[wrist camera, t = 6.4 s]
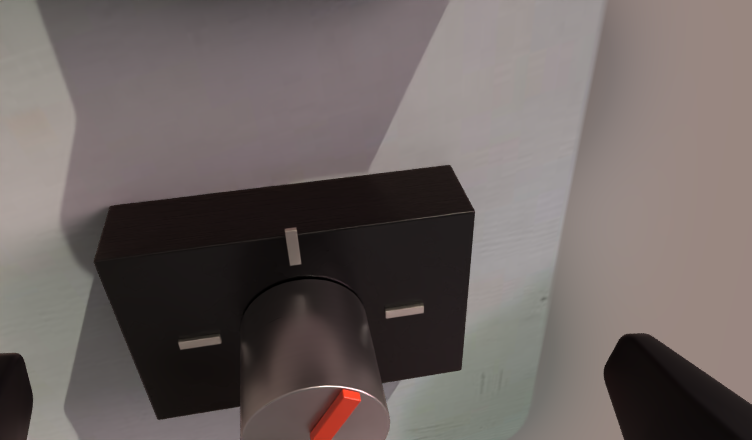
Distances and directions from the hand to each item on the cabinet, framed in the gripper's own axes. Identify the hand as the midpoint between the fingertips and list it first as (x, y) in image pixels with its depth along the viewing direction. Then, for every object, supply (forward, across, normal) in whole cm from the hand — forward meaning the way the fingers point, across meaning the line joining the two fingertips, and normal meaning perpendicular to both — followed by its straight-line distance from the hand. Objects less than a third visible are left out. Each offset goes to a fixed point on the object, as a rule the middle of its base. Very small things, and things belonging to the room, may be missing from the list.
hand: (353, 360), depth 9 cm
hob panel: (+12, -1, +9) cm, 15 cm away
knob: (+9, -1, +9) cm, 13 cm away
